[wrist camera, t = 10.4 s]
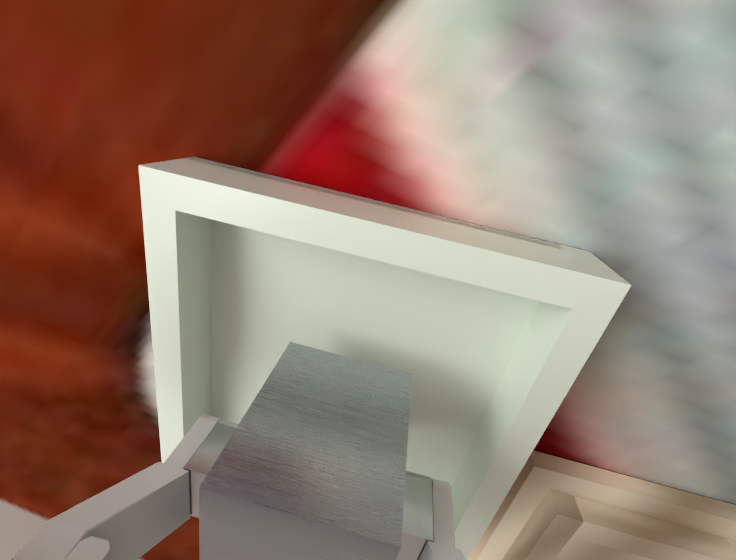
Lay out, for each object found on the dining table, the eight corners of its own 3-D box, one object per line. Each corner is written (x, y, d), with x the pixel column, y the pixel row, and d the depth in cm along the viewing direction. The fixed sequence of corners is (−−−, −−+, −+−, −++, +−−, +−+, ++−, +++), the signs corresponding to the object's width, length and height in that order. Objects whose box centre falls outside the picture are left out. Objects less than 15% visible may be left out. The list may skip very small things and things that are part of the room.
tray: (589, 251, 11) (631, 285, 9) (459, 505, 17) (464, 565, 14) (194, 156, 12) (138, 165, 9) (197, 431, 17) (163, 478, 15)
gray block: (411, 374, 11) (401, 547, 7) (383, 458, 13) (360, 641, 8) (290, 341, 11) (198, 487, 7) (278, 429, 13) (199, 591, 8)
